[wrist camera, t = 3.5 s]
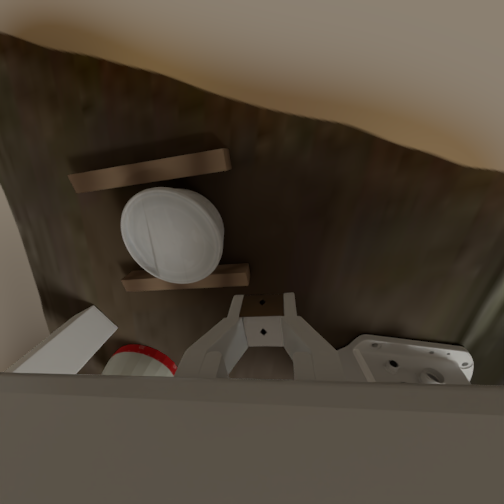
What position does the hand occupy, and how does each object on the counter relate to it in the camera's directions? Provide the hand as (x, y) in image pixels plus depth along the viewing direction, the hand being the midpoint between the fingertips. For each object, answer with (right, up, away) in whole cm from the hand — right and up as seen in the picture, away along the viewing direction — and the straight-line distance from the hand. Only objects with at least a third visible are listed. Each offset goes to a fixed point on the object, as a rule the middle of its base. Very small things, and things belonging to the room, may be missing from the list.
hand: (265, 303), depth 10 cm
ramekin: (-9, +6, +16) cm, 19 cm away
